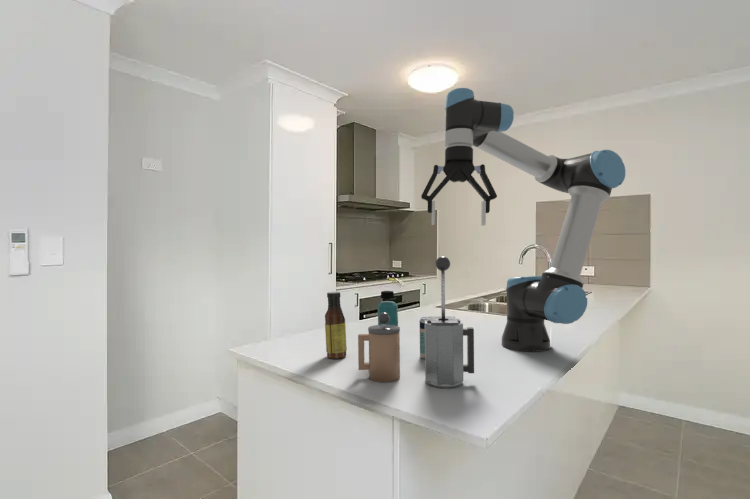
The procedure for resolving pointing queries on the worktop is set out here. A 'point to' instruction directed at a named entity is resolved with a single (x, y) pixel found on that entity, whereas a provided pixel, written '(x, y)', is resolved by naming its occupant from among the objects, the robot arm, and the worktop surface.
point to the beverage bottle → (388, 308)
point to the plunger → (442, 280)
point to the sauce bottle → (335, 328)
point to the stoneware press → (381, 351)
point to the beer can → (422, 336)
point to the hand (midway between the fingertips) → (457, 225)
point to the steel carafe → (447, 352)
